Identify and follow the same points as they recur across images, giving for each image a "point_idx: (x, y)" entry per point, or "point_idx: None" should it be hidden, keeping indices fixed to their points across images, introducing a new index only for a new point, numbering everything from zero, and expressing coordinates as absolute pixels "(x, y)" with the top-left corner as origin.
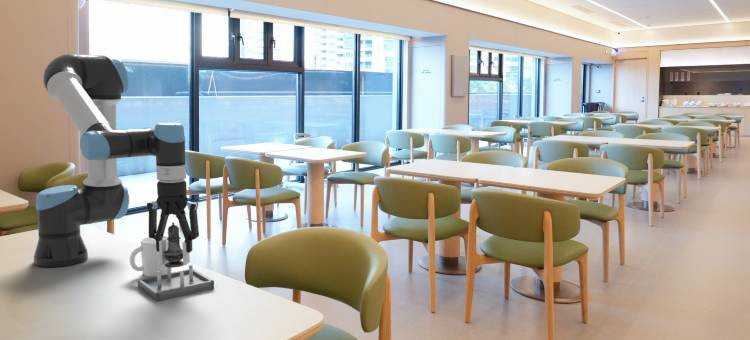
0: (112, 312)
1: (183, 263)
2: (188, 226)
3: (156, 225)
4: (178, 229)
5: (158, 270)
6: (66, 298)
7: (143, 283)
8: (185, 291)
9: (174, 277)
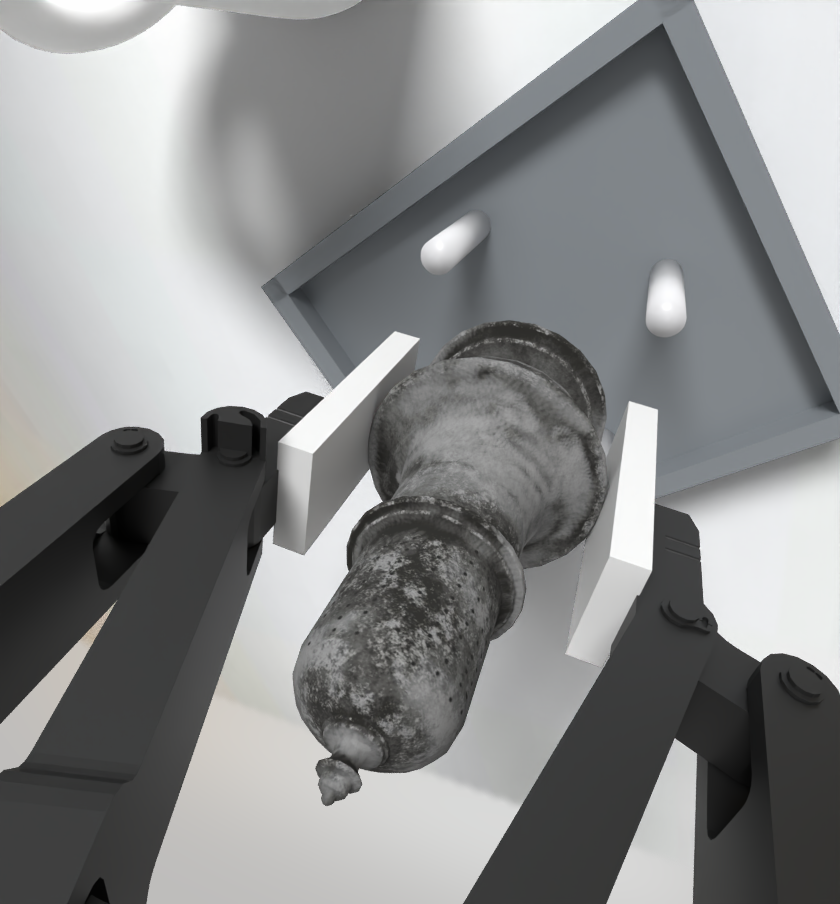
0: (310, 596)
1: None
2: (647, 789)
3: (62, 544)
4: (466, 712)
5: (331, 5)
6: (38, 385)
7: (330, 378)
8: None
9: (509, 172)
